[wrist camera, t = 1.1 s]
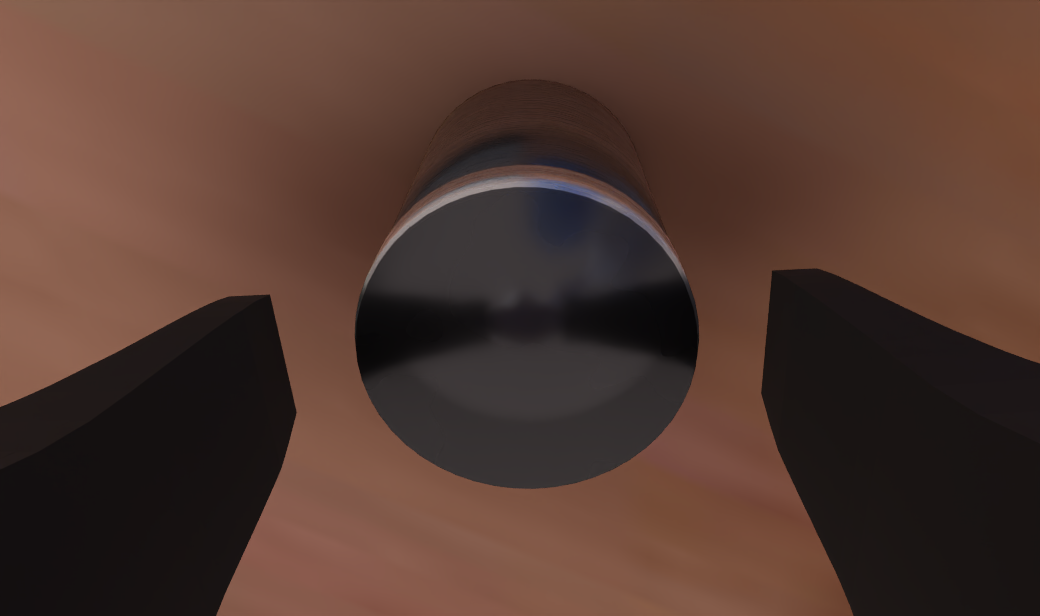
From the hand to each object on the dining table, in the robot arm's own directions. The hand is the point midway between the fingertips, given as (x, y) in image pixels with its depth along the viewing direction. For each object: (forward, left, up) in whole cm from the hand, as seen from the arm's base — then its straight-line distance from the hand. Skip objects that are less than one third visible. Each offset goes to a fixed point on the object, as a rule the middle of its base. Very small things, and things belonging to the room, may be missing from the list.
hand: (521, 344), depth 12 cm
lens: (0, 0, -7) cm, 7 cm away
